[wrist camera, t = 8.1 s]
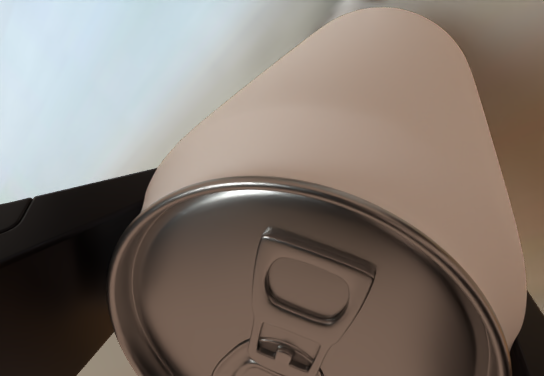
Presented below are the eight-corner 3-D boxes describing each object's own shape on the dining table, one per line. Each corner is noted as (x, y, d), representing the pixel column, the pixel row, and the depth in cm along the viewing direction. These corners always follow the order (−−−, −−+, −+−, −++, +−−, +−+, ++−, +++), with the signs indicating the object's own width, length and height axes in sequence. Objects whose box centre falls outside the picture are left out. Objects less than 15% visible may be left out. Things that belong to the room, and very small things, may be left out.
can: (274, 150, 18) (84, 403, 8) (313, -19, 15) (69, 68, 5) (430, 202, 17) (426, 560, 7) (509, 34, 14) (707, 275, 4)
